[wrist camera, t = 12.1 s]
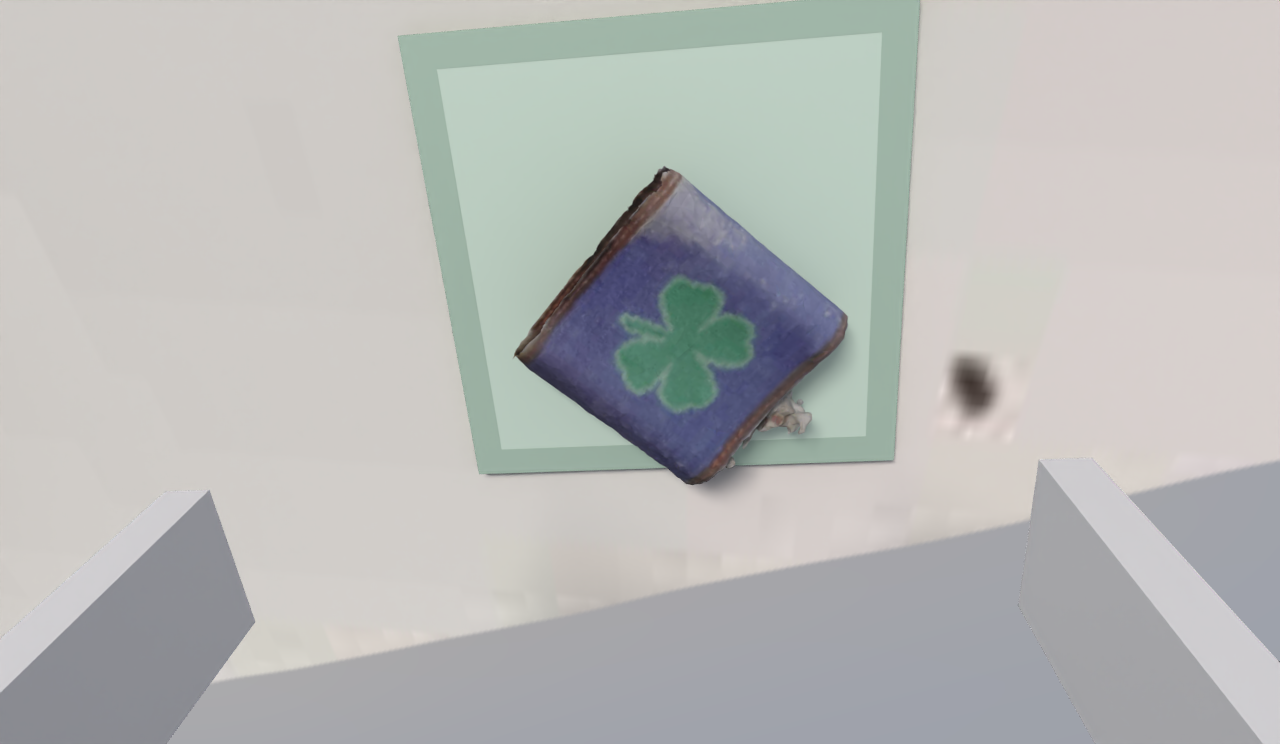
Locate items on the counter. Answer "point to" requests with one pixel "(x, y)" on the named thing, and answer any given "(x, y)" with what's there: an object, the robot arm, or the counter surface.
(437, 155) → the mat
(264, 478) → the counter surface
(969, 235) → the counter surface
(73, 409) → the counter surface
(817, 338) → the blue clover box
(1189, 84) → the counter surface
